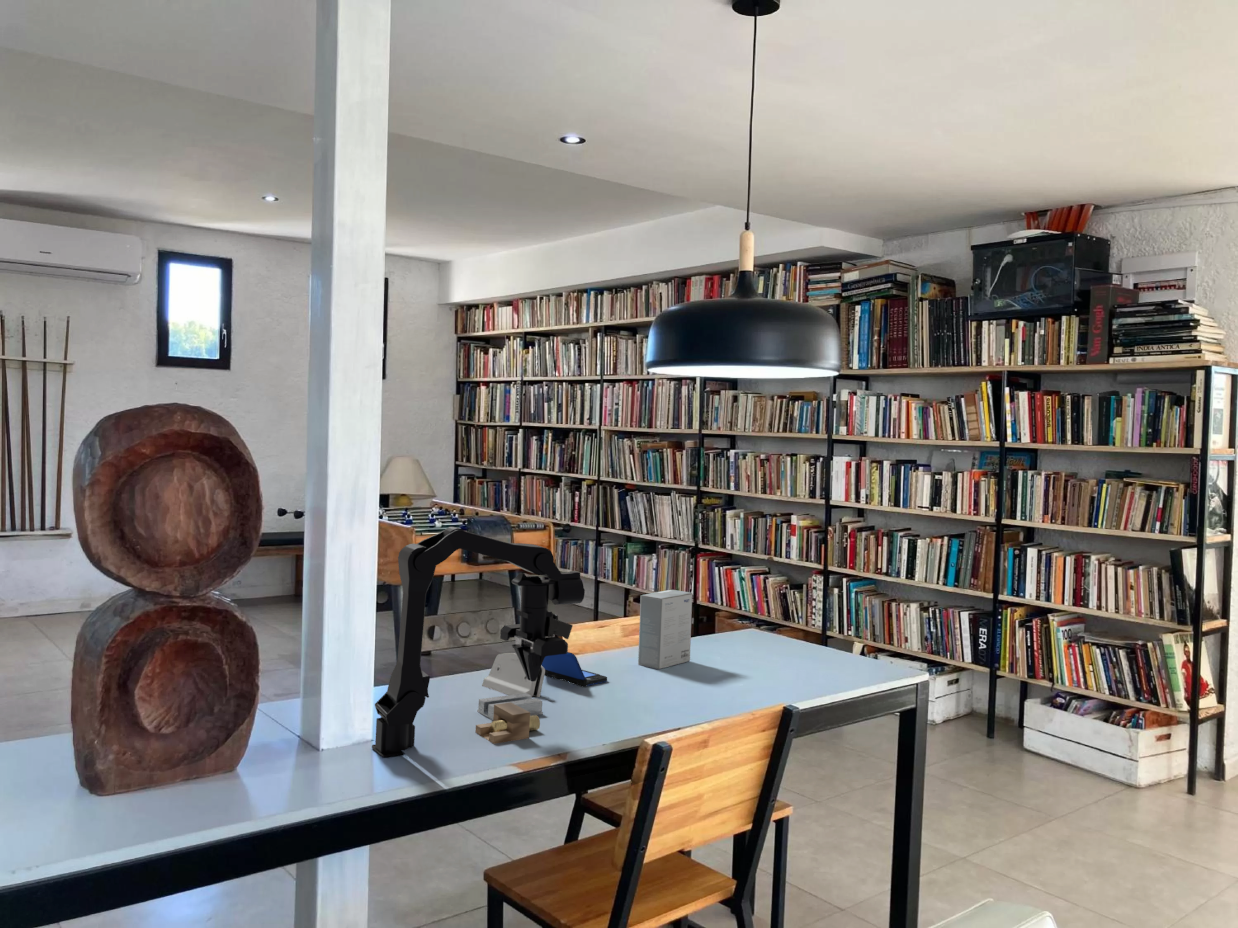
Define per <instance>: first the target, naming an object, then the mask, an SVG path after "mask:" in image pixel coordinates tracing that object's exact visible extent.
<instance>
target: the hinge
mask: <svg viewBox="0 0 1238 928" xmlns="http://www.w3.org/2000/svg"><path fill="white" fill-rule="evenodd" d="M544 679H545V669H544V667H543V666H542V665H541V668H540V671H539V673H538V676H537V679H536V681H533V682H532V681H530V680H528V679H527V677H526V674H525V672H524V670H523V667H522V665H521V663H520V660H519V658H518V656H517V654H516V652H504V653H503V652H502V653H498V654H497V655H496V657H495V659H494V661H493V664H492V666H491V669H490V671H489V674H488V675H487V676H485V678H483V681H482V684H481V686H482V687H484V688H487V689H491V690H492V691H495V692H498V693H501V694H503V695H506V696H507V695H515V694H523V693H527V694H529V695H531V696H532V697H535V698H539V697H541V694H542V689H543V684H544Z"/></svg>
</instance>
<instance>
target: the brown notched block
mask: <svg viewBox="0 0 1238 928" xmlns="http://www.w3.org/2000/svg"><path fill="white" fill-rule="evenodd" d="M498 720H506V721H507V730H506V731H499V732H493V733H491V730H490V725H491V722H486V723H479V724H475V733H476V734H477V735H479V737H482V738H483V739H485V740H486V741H488V742H490V743H491V744H493V745H495V744H502V743H507V742H513V741H519V740H526V739H530V731H529V725H530V712H528V711H526V710H524V709H523V708H521V707H519V706H517V705H515V704H513V703H511V702H510V703H503V704H496V705H494V716H493V720H492V721H498Z"/></svg>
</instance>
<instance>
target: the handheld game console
mask: <svg viewBox="0 0 1238 928" xmlns="http://www.w3.org/2000/svg"><path fill="white" fill-rule="evenodd" d="M542 666H543V667H544V669H545V675H544V677H545V676H546V677H549V676H550V677H549V678H552V677H553V678H552V679H556V680H560V679H563V680H562V681H565V680H566V681H565V682H567V681H569V682H570V684H572V683H574V684H573V685H576V686H579V687H582V686H583V687H582V688H585V687H588V686H592V685H593V686H594V685H599V684H603V683H606V682H608V677H607V676H605V675H601V674H599V673H595V672H591V671H588V670H584V669H582V667H581V665H580V663H579V660H578V657H577V656H576V655H575V654H574V653H573V652H570V651H568V653H567V654H560V655H552V656H546V657H545V658H544V660H543V663H542ZM569 682H568V683H569ZM602 682H603V683H602ZM598 683H599V684H598Z"/></svg>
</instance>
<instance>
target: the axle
mask: <svg viewBox="0 0 1238 928" xmlns="http://www.w3.org/2000/svg"><path fill="white" fill-rule="evenodd" d="M490 723H491V725H490V730H491V733H493V732H499V731H506V730H507V721H506V720H498V721H493V720H491V722H490ZM540 726H541V721H540V718H539V715H532V716H530V725H529V732H532V731H537V730H539V729H540Z"/></svg>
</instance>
